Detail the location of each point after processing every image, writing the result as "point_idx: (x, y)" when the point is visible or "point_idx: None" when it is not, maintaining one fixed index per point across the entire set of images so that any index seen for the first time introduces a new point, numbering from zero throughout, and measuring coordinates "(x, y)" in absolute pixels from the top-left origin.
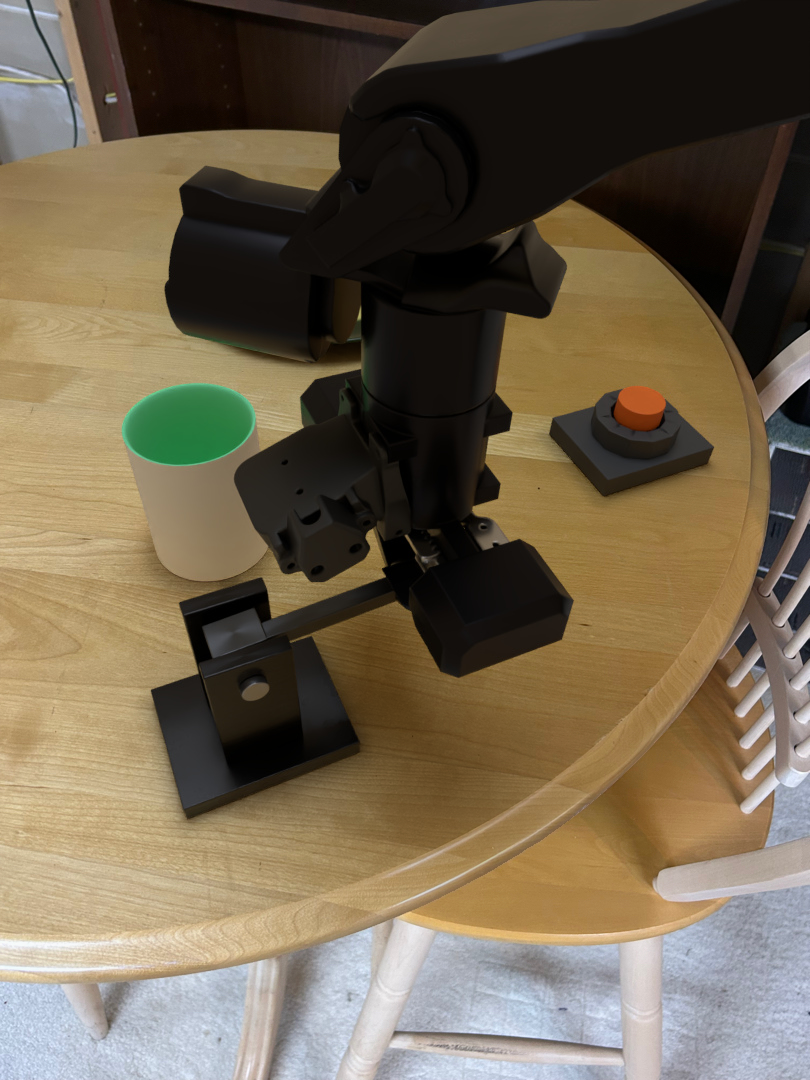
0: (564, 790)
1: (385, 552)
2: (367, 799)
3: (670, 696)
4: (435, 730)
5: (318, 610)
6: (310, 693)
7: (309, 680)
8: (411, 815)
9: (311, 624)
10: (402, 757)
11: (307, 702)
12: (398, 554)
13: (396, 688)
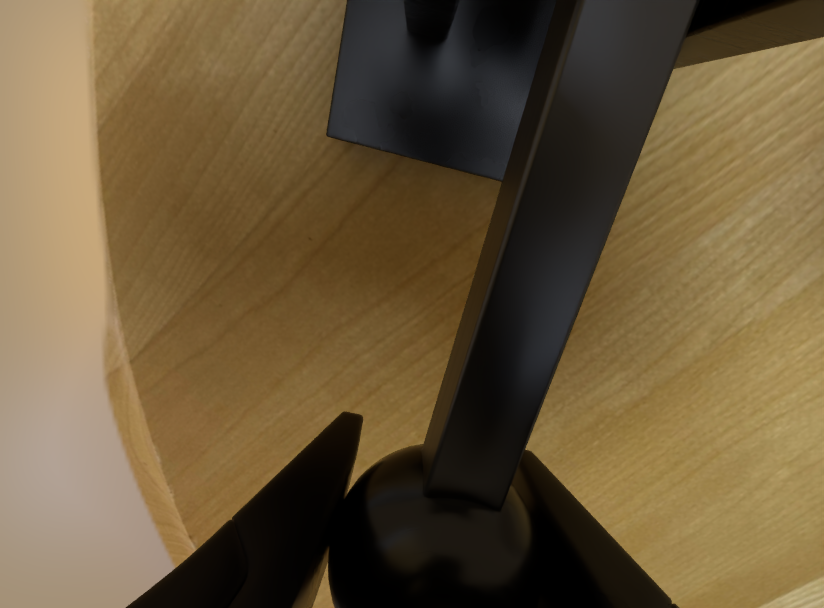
0: (106, 366)
1: (586, 584)
2: (240, 83)
3: (172, 555)
4: (297, 278)
5: (572, 190)
6: (491, 115)
7: None
8: (172, 136)
9: (537, 118)
10: (282, 196)
11: (476, 95)
12: (551, 589)
13: (409, 276)
